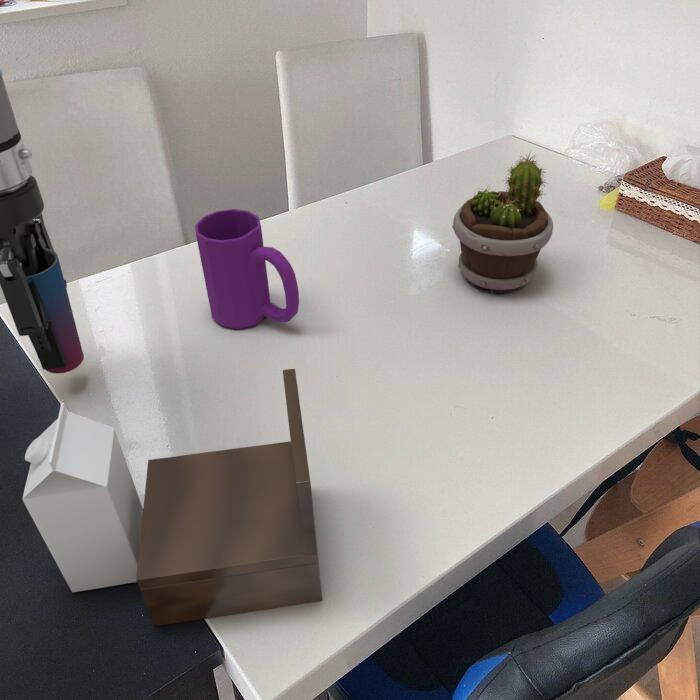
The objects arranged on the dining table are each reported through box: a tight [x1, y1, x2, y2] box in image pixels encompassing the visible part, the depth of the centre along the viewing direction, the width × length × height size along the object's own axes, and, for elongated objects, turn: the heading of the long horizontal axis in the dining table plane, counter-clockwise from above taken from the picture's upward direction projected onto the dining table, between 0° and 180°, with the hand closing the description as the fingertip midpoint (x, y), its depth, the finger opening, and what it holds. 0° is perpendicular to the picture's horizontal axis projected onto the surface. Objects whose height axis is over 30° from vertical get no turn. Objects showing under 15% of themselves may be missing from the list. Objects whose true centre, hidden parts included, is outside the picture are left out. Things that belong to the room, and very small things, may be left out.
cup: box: [22, 248, 85, 375], centre depth 84 cm, size 7×7×15 cm
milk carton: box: [22, 402, 144, 593], centre depth 64 cm, size 7×7×19 cm
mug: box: [194, 208, 300, 330], centre depth 97 cm, size 9×16×15 cm, turn 58°
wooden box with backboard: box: [136, 368, 323, 627], centre depth 65 cm, size 16×14×18 cm
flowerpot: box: [451, 150, 554, 294], centre depth 102 cm, size 14×15×20 cm
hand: (59, 349), depth 87 cm, fingers closed on cup, 6 cm apart
